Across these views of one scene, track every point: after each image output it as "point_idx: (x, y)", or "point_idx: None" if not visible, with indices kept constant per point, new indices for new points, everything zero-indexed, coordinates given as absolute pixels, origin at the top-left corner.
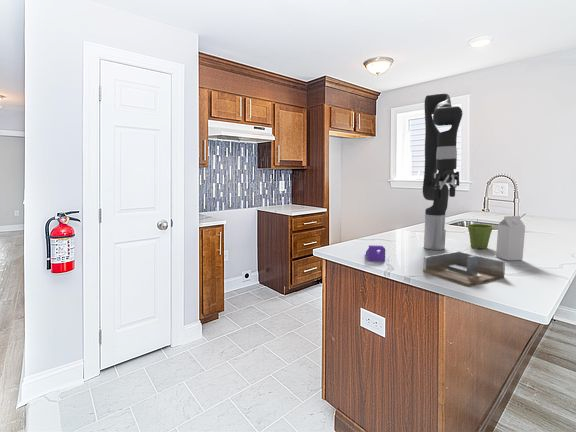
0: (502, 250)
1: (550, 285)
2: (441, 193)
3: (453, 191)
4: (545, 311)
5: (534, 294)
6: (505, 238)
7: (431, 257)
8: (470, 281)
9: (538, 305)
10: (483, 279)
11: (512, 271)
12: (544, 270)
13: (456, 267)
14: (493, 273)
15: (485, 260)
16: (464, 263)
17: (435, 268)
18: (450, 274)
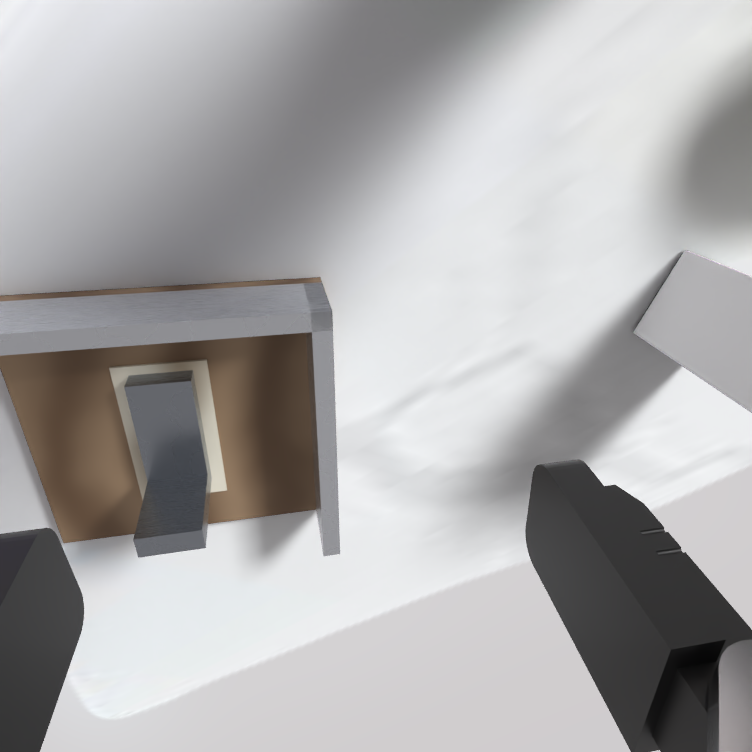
0: (688, 313)
1: (388, 591)
2: (30, 741)
3: (582, 644)
4: (130, 709)
5: (242, 630)
6: (738, 365)
7: (7, 352)
8: (97, 526)
9: (155, 683)
10: None
11: (455, 453)
12: None
13: (148, 422)
14: (308, 481)
15: (318, 476)
16: (307, 344)
17: None
18: (81, 430)
